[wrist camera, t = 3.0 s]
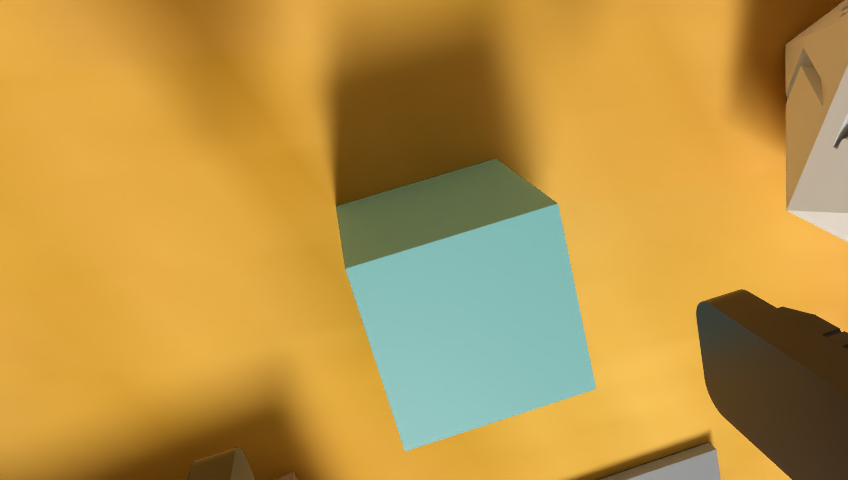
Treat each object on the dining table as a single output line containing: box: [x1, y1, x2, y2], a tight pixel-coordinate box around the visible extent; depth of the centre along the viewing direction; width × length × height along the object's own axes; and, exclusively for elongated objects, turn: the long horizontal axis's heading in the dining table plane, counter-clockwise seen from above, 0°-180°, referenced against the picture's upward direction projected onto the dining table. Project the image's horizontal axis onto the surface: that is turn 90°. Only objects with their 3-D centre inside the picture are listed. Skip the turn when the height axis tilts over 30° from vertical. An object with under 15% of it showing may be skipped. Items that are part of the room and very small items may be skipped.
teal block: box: [336, 158, 596, 451], centre depth 17 cm, size 4×4×5 cm
